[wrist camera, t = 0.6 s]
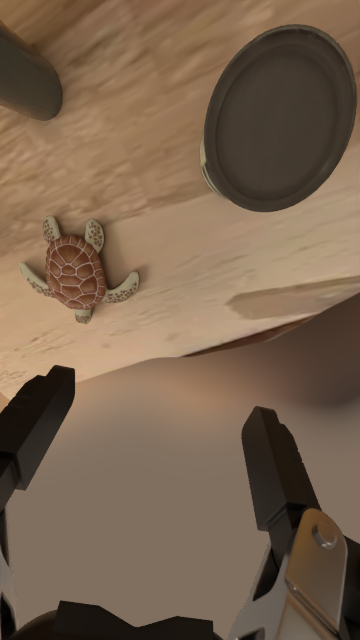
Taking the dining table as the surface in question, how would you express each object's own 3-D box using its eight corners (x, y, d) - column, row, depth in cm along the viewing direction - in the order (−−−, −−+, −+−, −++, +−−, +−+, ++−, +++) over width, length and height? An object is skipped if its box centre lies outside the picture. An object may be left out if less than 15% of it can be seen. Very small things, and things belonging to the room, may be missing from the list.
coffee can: (287, 188, 30) (349, 193, 18) (207, 209, 32) (216, 226, 20) (285, 82, 26) (369, -9, 13) (191, 112, 27) (190, 57, 15)
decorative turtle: (38, 313, 42) (20, 329, 38) (11, 210, 33) (-16, 215, 29) (141, 322, 42) (135, 339, 37) (139, 221, 33) (131, 227, 29)
